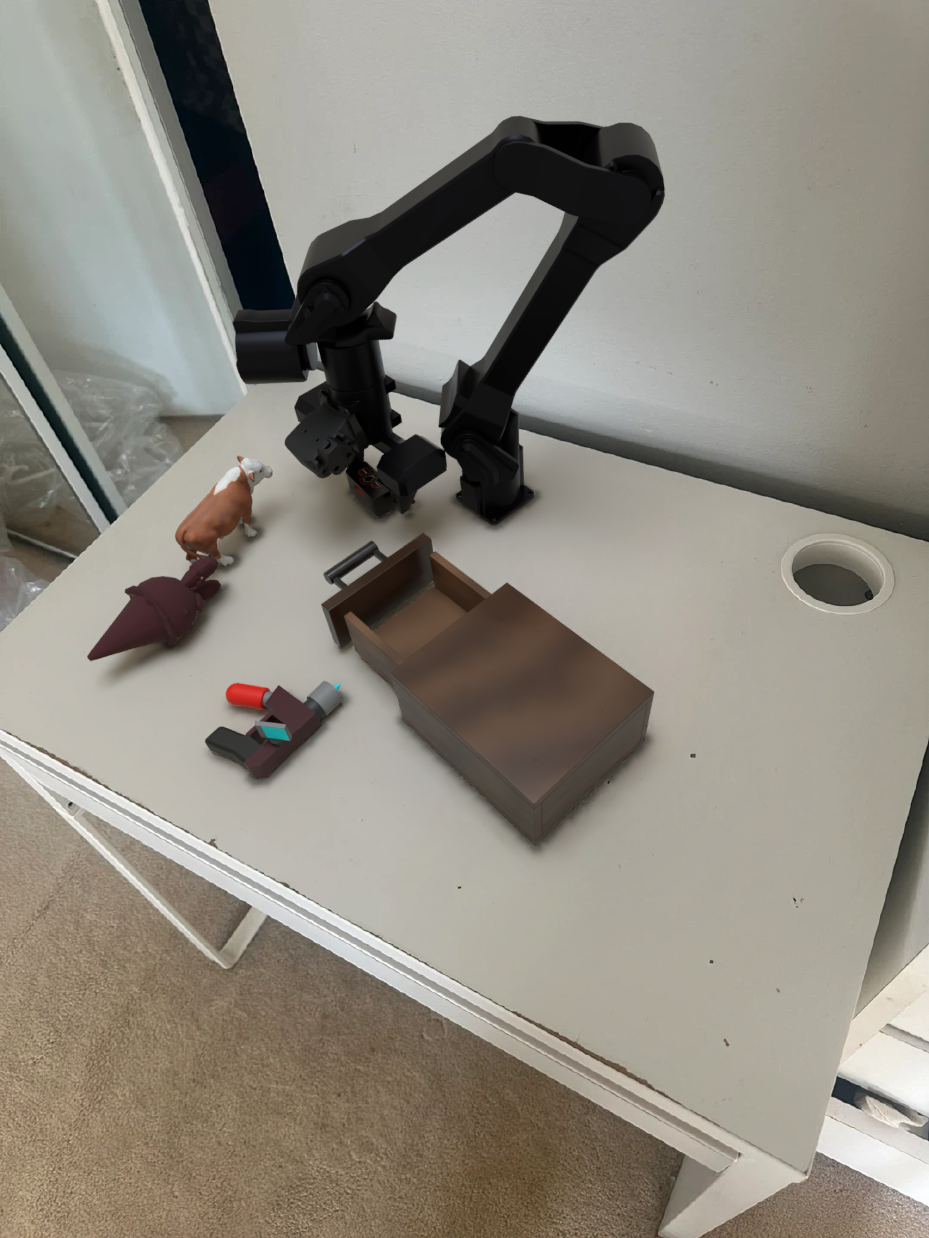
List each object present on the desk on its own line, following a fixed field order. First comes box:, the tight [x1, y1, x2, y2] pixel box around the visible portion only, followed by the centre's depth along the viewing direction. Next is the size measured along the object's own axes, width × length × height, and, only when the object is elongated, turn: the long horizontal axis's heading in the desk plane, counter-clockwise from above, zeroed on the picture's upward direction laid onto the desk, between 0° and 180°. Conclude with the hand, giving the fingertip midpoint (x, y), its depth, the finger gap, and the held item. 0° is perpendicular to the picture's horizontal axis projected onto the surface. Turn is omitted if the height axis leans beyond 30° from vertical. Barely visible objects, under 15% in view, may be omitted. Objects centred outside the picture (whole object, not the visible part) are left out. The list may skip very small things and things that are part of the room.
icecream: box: [86, 557, 222, 662], centre depth 77 cm, size 7×7×15 cm
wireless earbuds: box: [344, 460, 416, 518], centre depth 88 cm, size 5×7×3 cm, turn 36°
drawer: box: [320, 532, 492, 687], centre depth 74 cm, size 20×12×6 cm, turn 43°
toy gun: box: [204, 680, 344, 779], centre depth 71 cm, size 10×12×5 cm
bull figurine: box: [174, 455, 274, 567], centre depth 84 cm, size 4×13×8 cm, turn 148°
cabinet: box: [390, 582, 655, 846], centre depth 67 cm, size 17×14×8 cm
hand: (380, 494), depth 89 cm, fingers open, 8 cm apart
